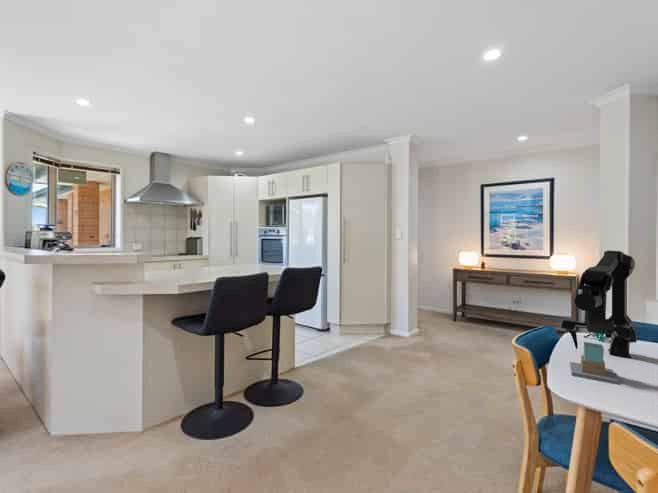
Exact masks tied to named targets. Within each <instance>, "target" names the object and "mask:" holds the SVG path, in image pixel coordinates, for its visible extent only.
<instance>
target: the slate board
mask: <svg viewBox="0 0 658 493" xmlns="http://www.w3.org/2000/svg"><path fill="white" fill-rule="evenodd" d="M569 364H570V365H569V366H570V370H571V372H570V373H571V376H575V377H580V378H584V379H590V380H594V381H599V382H606V383H610V384H616V385H618V379H617V377H616V375H615V372H614V370H613V369H612V368H608V367H605V376H602V375H596V374H591V373H586V372H582V369H581V362H575V361H574V362H573V361H570V362H569Z"/></svg>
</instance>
